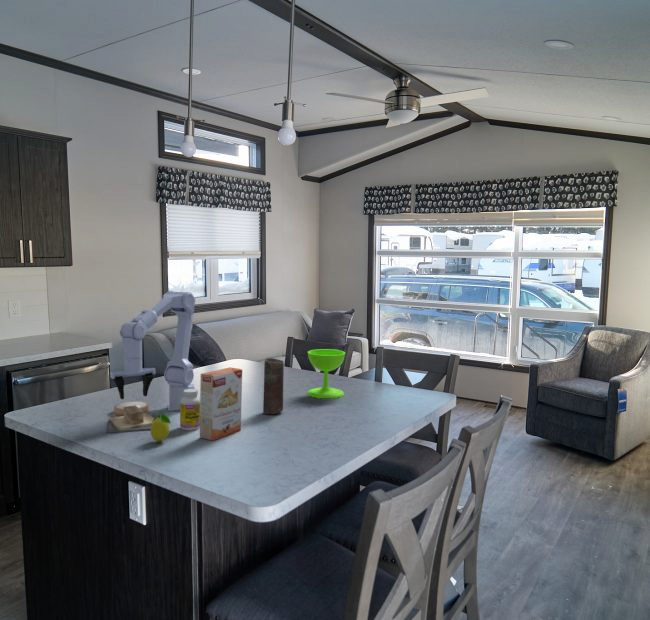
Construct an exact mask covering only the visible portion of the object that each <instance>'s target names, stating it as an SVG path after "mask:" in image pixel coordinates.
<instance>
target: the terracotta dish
mask: <svg viewBox="0 0 650 620" xmlns="http://www.w3.org/2000/svg"><path fill="white" fill-rule="evenodd" d="M149 404H150V403H148V402H145V401H141V400H140V401H139V400H138V401H137V400H135V401H133V400H132V401H131V400H130V401H123V402H120V403H116V404H115V405H114V406H113V415H114V416H115V417H120V416H124V407H126V406H134V405H136V406H137V407H138V408H140V409H141V410H142V411H143V413H148V414H149Z"/></svg>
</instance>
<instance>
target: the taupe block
mask: <svg viewBox="0 0 650 620" xmlns="http://www.w3.org/2000/svg"><path fill="white" fill-rule="evenodd" d="M150 415H151V414H150V413H149V412H148V413H143V411H142V410H141V409H140V408H138V407H137V406H136V405H134V406H126V407H124V416H115V417H108V422H109V421H110V422H111V423H112V424H113V425H114V426H115V427H116V428H117V429H118V430H119V431H120V430H126V429H132V428H139V427H145V426H151V425H152V424H153V422H154V421H155V420H156V419H155V420H154V421H153V419H154V418H153V417H152V416H150Z"/></svg>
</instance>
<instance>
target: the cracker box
mask: <svg viewBox="0 0 650 620" xmlns="http://www.w3.org/2000/svg"><path fill="white" fill-rule="evenodd" d="M199 387H200V389H199V390H200V392H199V393H200V395H199V396H200V397H199V398H200V428H199V438H201V439H205V440H208V441H215V440H217V439H220V438H223V437H226V436H229V435H231V434H234V433H237V432H239V431H241V430H242V402H243V401H242V400H243V399H242V396H243V395H242V393H243V369H242V368H235V367H232V366H231V367H226V368H221V369H217V370H211V371H207V372H203V373H200V385H199Z"/></svg>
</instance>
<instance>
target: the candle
mask: <svg viewBox="0 0 650 620" xmlns="http://www.w3.org/2000/svg"><path fill="white" fill-rule="evenodd" d="M284 363H285V362H284V361H283V360H281V359H278V358H277V359H276V358H274V357H273V358H272V357H270V358H265V359H264V368H263V369H264V372H263V373H264V375H263V401H262V402H263V404H262V405H263V406H262V411H263V412H262V413H263V414H266V415H268V414H271V415H275V414H279V413H281V412H283V411H284V377H285V376H284V370H285V368H284V367H285V364H284Z"/></svg>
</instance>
